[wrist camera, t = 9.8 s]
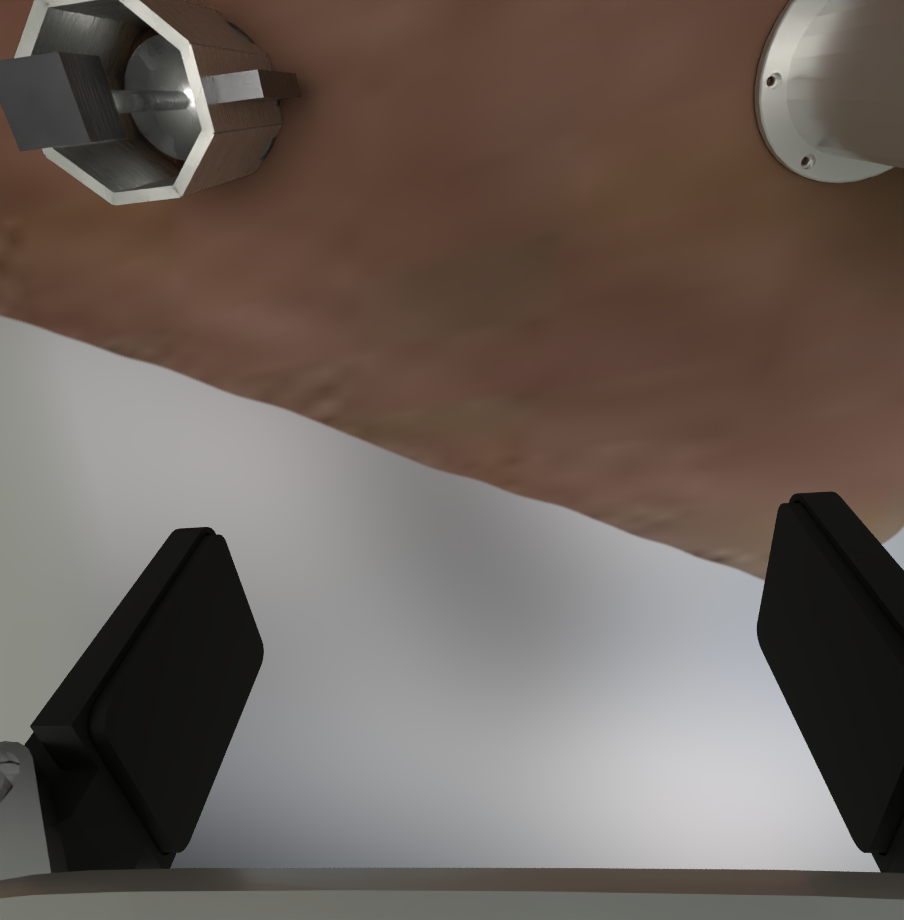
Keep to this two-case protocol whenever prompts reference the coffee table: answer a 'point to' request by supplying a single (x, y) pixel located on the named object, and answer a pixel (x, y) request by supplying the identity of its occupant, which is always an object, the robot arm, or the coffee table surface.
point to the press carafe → (211, 81)
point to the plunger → (100, 99)
